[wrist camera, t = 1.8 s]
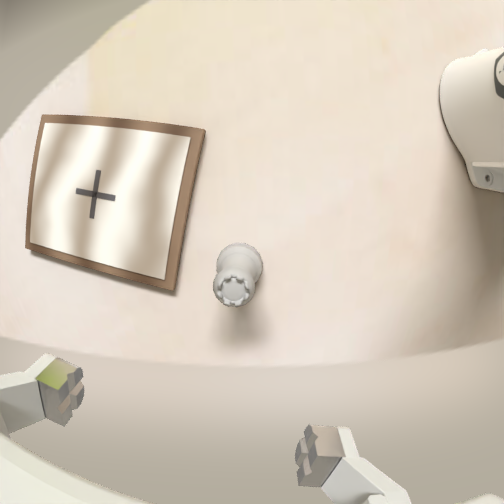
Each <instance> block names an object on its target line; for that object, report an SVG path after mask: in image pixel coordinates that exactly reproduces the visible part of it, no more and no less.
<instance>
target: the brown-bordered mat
mask: <svg viewBox="0 0 504 504" xmlns="http://www.w3.org/2000/svg"><path fill="white" fill-rule="evenodd" d="M204 135H205V130H204V129H199V128H193V127H187V126H180V125H173V124H165V123H158V122H149V121H140V120H131V119H120V118H108V117H94V116H76V115H42V117H41V122H40V126H39V131H38V136H37V141H36V146H35V152H34V158H33V164H32V171H31V178H30V186H29V195H28V206H27V220H26V243H25V248H27V249H30V250H33V251H36V252H39V253H42V254H45V255H48V256H51V257H55V258H58V259H61V260H64V261H67V262H71V263H74V264H77V265H81V266H84V267H87V268H91V269H94V270H98V271H101V272H105V273H108V274H112V275H115V276H119V277H123V278H126V279H130V280H134V281H137V282H141V283H145V284H149V285H152V286H156V287H160V288H164V289H168V290H172V291H173V290H174V289H175V287H176V281H177V274H178V268H179V262H180V256H181V250H182V244H183V238H184V232H185V227H186V221H187V216H188V211H189V206H190V200H191V195H192V190H193V185H194V181H195V176H196V171H197V166H198V162H199V157H200V153H201V148H202V144H203V140H204Z"/></svg>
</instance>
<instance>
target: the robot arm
mask: <svg viewBox="0 0 504 504" xmlns="http://www.w3.org/2000/svg"><path fill="white" fill-rule="evenodd" d="M440 104H441V110H442V114H443V118H444V121H445V124H446V127H447V129H448V131H449V134H450V136H451V138H452V140H453V141H454V143H455V145H456V146H457V148H458V149H459V151H460V152H461V154H462V156H463V158H464V160H465V162H466V166H467V170H468V174H469V177H470V180H471V182H472V184H473V185H474V186H475V187H477V188H482V189H488V190H492V191H497V192H502V193H504V47H501V48H497V49H494V50H488V49H482V50H479V51H477V52H476V53H475V54H474V55H473V56H470V57H463V58H458V59H456V60H454V61H452V62H451V63H450V64H449V65H448V66H447V67H446V69H445V70H444V72H443V75H442V78H441V83H440ZM485 176H486V179H485ZM82 377H83V371H82V369H81V368H80V367H78V366H76V365H74V364H71V363H69V362H67V361H65V360H63V359H60V358H58V357H55V356H54V355H51V354H50V353H46V354H44V355H43V356H42V357H40V358H39V359H38V360H37V361H36V362H35V363H34V364H33V365H32V366H31V367H29V369H27V370H26V371H25V372H24V373H22V372H16V373H10V374H5V375H0V504H154V503H151V502H148V501H144V500H141V499H138V498H135V497H132V496H129V495H126V494H123V493H120V492H118V491H115V490H112V489H109V488H107V487H104V486H102V485H99V484H97V483H94V482H92V481H90V480H87V479H85V478H83V477H80V476H78V475H76V474H74V473H72V472H70V471H67V470H65V469H63V468H61V467H59V466H57V465H55V464H53V463H51V462H49V461H48V460H46V459H44V458H42V457H40V456H38V455H37V454H35V453H33V452H32V451H30V450H28V449H26V448H25V447H23V446H21V445H20V444H18V443H17V442H15V441H13V440H12V439H11V438H10V436H9V434H10V433H12V432H15V431H17V430H19V429H22V428H24V427H27V426H29V425H32V424H34V423H36V422H39V421H41V420H43V419H45V418H47V419H49V420H52V421H54V422H56V423H58V424H60V425H62V426H65V425H66V424H67V423H68V421H69V420H70V418H71V417H72V410H74V409H77V408H78V407H79V405H80V404H81V402H82V400H83V396H84V386H83V384H82V382H81V381H80V380H81V379H82ZM304 435H305V437H304V438H302V439H301V440H300V441H299V443H298V445H297V448H296V453H295V461H296V464H297V465H298V466H299V467H300V468H299V469H298V471H297V477H298V485H299V486H309V487H321V489H322V490H323V491H324V493H325V494H326V495H327V496H328V497H329V499H330V500H331V501H332V502H333V503H334V504H412V503H411V501H410V499H409V496H408V494H407V491H406V490H405V489H403V488H402V487H401V486H399V485H398V484H397V483H395V482H394V481H393V480H391V479H390V478H389V477H387V476H386V475H385V474H384V473H382V472H381V471H380V470H378V469H377V468H376V467H375V466H373V465H372V464H371V463H370V462H368V461H367V460H366V459H364V458H360V456H359V453H358V451H357V448H356V445H355V442H354V439H353V436H352V433H351V431H350V429H349V428H348V427H333V426H319V425H308V426H307V427H306V429H305V431H304ZM455 504H504V499H502V498H500V497H498V496H496V495H494V494H491V493H487V494H484V495H480V496H477V497H475V498H471V499H468V500H465V501H462V502H459V503H455Z"/></svg>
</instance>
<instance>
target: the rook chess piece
mask: <svg viewBox="0 0 504 504" xmlns="http://www.w3.org/2000/svg"><path fill="white" fill-rule="evenodd" d="M262 264H263V262H262V259H261V256H260V254H259V253H258V251H257V250H256V249H255V248H254V247H252V246H250V245H248V244H246V243H234V244H231V245H228V246H227V247H225V248H224V249H223V250H222V251H221V253H220V255H219V257H218V259H217V273H218V274H217V275H216V277H215V279H214V282H213V291H214V293H215V296H216V297H217V299H218V300H219V301H220V302H221V303H223V304H224V305H226V306H232V307H239V306H242V305H245V304H246V303H247V302H249V301H250V300H251V299H252V297H253V295H254V293H255V283H256V282H257V281H258V279H259V277H260V275H261V272H262Z"/></svg>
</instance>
